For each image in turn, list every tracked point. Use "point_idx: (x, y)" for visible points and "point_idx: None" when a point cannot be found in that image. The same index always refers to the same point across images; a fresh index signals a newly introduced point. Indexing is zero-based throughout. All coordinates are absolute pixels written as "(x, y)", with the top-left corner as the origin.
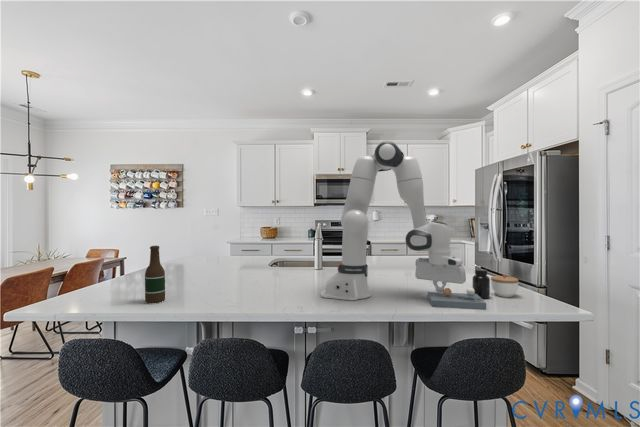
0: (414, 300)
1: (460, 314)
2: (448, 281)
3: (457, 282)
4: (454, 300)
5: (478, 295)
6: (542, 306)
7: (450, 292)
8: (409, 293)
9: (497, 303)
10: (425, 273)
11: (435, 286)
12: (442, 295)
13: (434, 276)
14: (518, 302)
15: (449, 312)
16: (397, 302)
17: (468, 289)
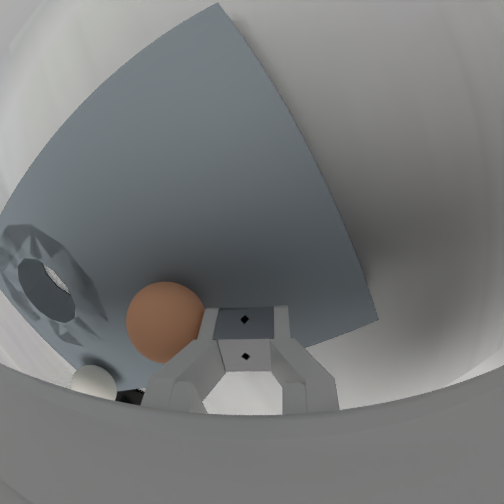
0: (438, 141)
1: (17, 43)
2: (76, 401)
3: (7, 375)
4: (55, 180)
5: (119, 396)
6: (5, 358)
7: (127, 310)
8: (474, 301)
9: (48, 349)
10: (484, 473)
11: (292, 346)
12: (215, 283)
13: (308, 489)
14: (42, 376)
15: (66, 12)
16: (496, 31)
17: (87, 391)
